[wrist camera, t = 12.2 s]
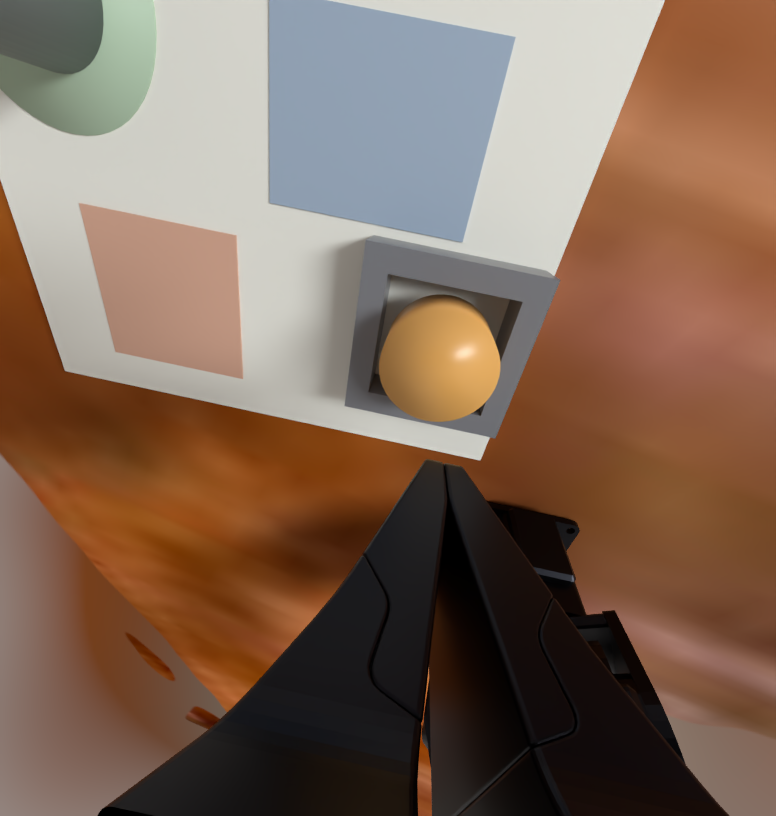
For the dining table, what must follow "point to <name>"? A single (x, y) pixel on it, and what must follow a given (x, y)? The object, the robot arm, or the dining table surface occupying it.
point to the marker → (51, 32)
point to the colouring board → (300, 179)
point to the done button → (439, 359)
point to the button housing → (460, 271)
